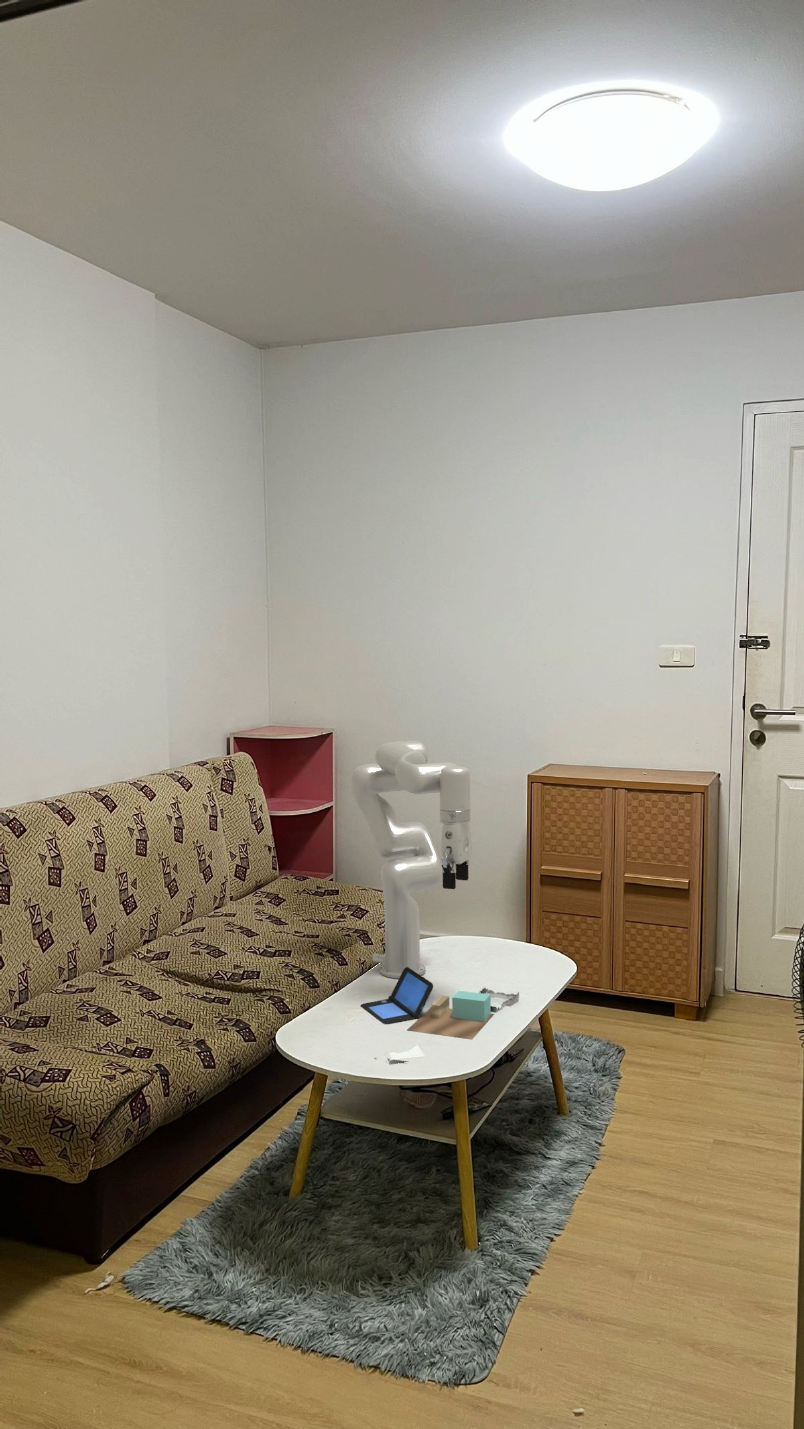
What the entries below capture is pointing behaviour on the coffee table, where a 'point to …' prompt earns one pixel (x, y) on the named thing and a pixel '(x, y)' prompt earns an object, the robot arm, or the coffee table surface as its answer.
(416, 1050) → the external hard drive
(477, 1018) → the teal block
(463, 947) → the coffee table surface
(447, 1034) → the walnut board
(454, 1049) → the coffee table surface
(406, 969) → the handheld game console
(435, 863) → the robot arm
